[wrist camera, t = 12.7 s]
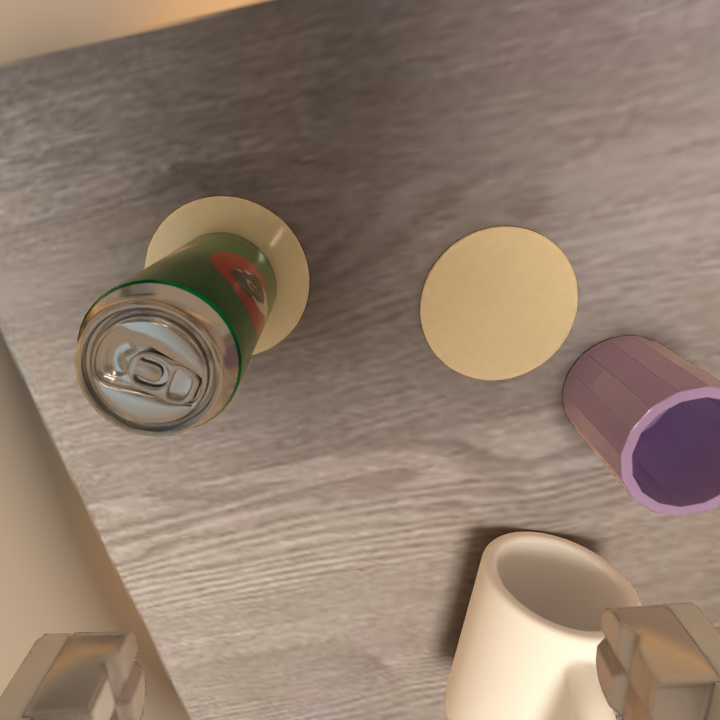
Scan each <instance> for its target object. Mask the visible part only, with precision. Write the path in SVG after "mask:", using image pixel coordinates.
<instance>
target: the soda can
mask: <svg viewBox="0 0 720 720" xmlns="http://www.w3.org/2000/svg"><path fill="white" fill-rule="evenodd" d="M276 292H277V284H276V277H275V274H274V270H273V268H272V266H271V264H270V262H269V260H268V258H267V257H266V256H265V254H264V253H263V252H262V251H261V250H260V249H259V248H258V247H257V246H256V245H254V244H253V243H252V242H250V241H249V240H247V239H245V238H243V237H241V236H238V235H235V234H231V233H223V232H216V233H208V234H205V235H201V236H199V237H197V238H195V239H193V240H191V241H190V242H188V243H186V244H185V245H183V246H181V247H180V248H178V249H177V250H175V251H173V252H172V253H170V254H168V255H167V256H165V257H163V258H162V259H160V260H159V261H157V262H155V263H154V264H152V265H150V266H149V267H147V268H145V269H144V270H142V271H141V272H139V273H137V274H136V275H134V276H132V277H131V278H129V279H127V280H126V281H124V282H123V283H121V284H119V285H118V286H116V287H114V288H113V289H111V290H110V291H108V292H107V293H105V294H104V295H102V296H101V297H100V298H99V299H98V300H97V301H96V302H95V303H94V304H93V305H92V306H91V308H90V309H89V311H88V312H87V314H86V315H85V317H84V319H83V322H82V324H81V326H80V330H79V335H78V342H77V349H76V353H75V368H76V375H77V379H78V382H79V385H80V387H81V389H82V391H83V394H84V395H85V397H86V398H87V400H88V401H89V403H90V404H91V405H92V407H93V408H94V409H95V410H96V411H97V412H98V413H99V414H100V415H101V416H103V417H104V418H105V419H106V420H108V421H109V422H111V423H112V424H114V425H115V426H117V427H119V428H122V429H124V430H126V431H129V432H132V433H135V434H139V435H144V436H155V437H161V436H171V435H175V434H179V433H182V432H184V431H187V430H189V429H192V428H195V427H198V426H200V425H202V424H205V423H207V422H208V421H210V420H211V419H213V418H214V417H216V416H217V415H218V414H219V413H220V412H221V411H223V410H224V409H225V407H226V406H227V405H228V404H229V402H230V401H231V400H232V398H233V396H234V394H235V392H236V390H237V388H238V386H239V384H240V381H241V379H242V377H243V374H244V372H245V370H246V367H247V365H248V363H249V361H250V358H251V356H252V354H253V351H254V349H255V347H256V345H257V342H258V340H259V338H260V335H261V333H262V331H263V328H264V326H265V324H266V322H267V319H268V317H269V315H270V312H271V310H272V308H273V305H274V302H275V298H276Z"/></svg>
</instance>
